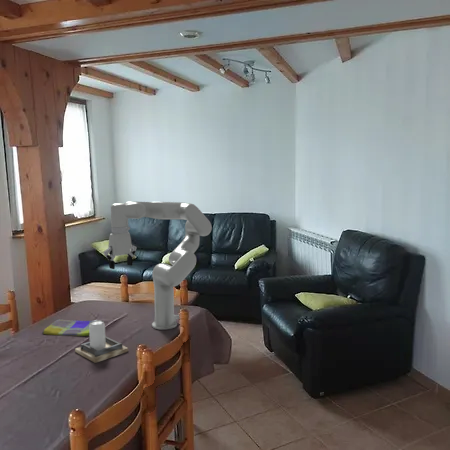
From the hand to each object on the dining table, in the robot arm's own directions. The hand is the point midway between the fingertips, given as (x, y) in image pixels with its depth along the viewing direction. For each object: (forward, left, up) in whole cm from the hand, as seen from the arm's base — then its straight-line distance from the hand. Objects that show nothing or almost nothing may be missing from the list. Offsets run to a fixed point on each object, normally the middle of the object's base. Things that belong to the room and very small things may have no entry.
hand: (121, 266), depth 207 cm
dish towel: (+12, -25, -34) cm, 44 cm away
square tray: (+17, +9, -33) cm, 38 cm away
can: (+19, +9, -32) cm, 38 cm away
